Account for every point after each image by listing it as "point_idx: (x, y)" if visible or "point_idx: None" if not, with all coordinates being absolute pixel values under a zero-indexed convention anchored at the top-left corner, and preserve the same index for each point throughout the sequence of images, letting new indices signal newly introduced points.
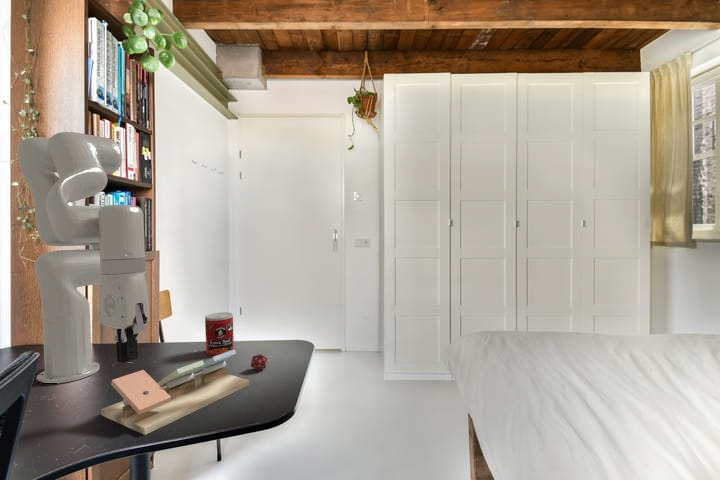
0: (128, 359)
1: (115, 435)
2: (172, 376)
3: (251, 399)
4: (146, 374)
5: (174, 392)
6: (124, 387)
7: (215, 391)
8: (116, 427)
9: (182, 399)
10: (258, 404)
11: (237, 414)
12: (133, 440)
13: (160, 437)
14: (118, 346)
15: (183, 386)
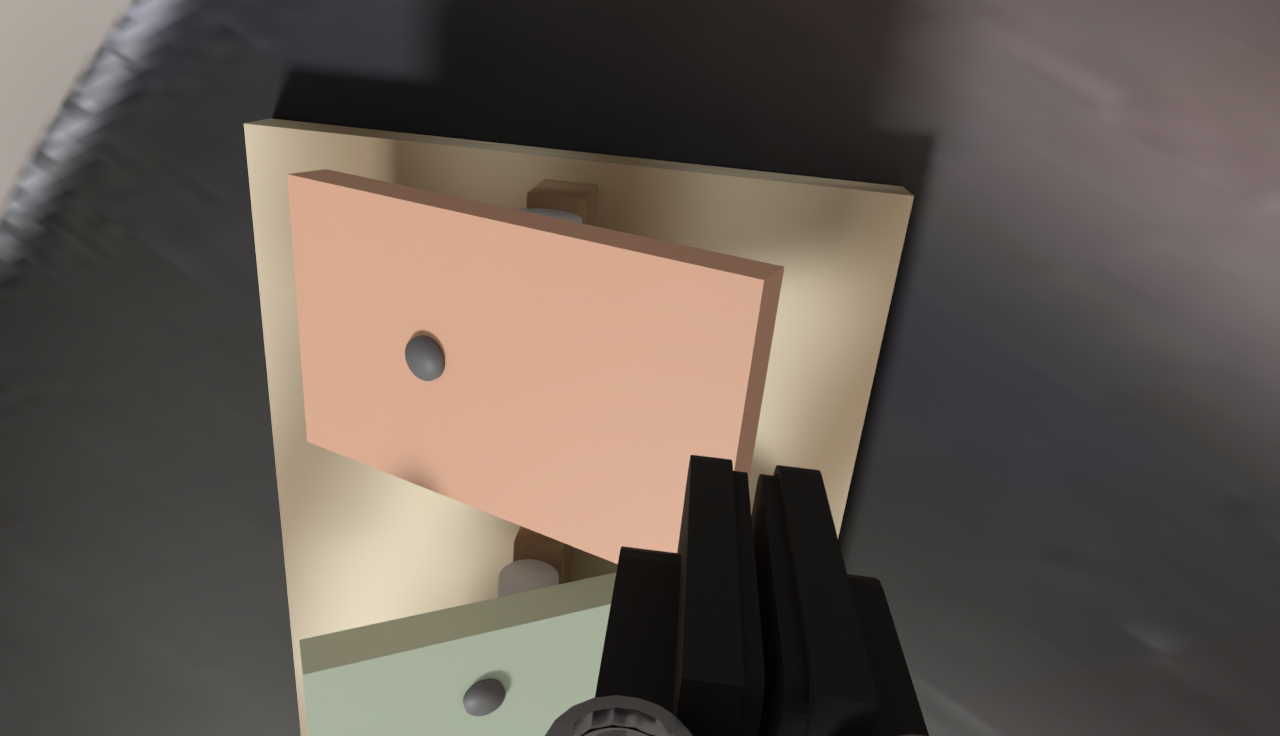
0: (678, 551)
1: (462, 22)
2: (415, 624)
3: (143, 690)
4: None
5: None
6: (584, 285)
7: None
8: (580, 106)
9: (441, 533)
10: (51, 655)
11: (36, 530)
12: (270, 33)
13: (151, 143)
14: (795, 634)
15: None
